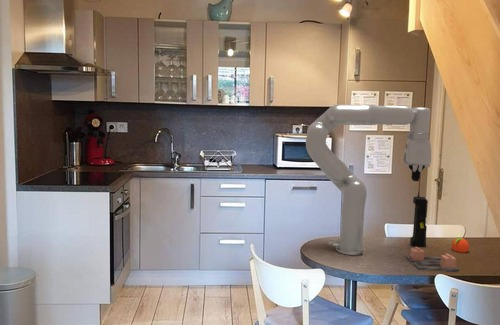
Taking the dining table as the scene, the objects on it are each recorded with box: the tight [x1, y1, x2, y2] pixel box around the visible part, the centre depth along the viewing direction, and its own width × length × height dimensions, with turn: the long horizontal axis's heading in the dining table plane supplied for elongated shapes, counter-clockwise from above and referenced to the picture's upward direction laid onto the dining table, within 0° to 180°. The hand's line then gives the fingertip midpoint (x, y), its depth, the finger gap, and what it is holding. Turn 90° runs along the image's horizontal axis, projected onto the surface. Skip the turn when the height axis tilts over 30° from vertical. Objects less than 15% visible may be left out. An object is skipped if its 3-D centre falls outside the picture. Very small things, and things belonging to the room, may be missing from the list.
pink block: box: [439, 252, 457, 268], centre depth 173 cm, size 4×4×5 cm
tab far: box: [409, 247, 425, 261], centre depth 181 cm, size 4×4×5 cm
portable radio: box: [409, 191, 429, 248], centre depth 204 cm, size 8×6×25 cm
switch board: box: [406, 255, 460, 273], centre depth 178 cm, size 24×17×2 cm
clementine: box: [451, 237, 470, 254], centre depth 197 cm, size 8×7×7 cm
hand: (415, 180), depth 190 cm, fingers closed
